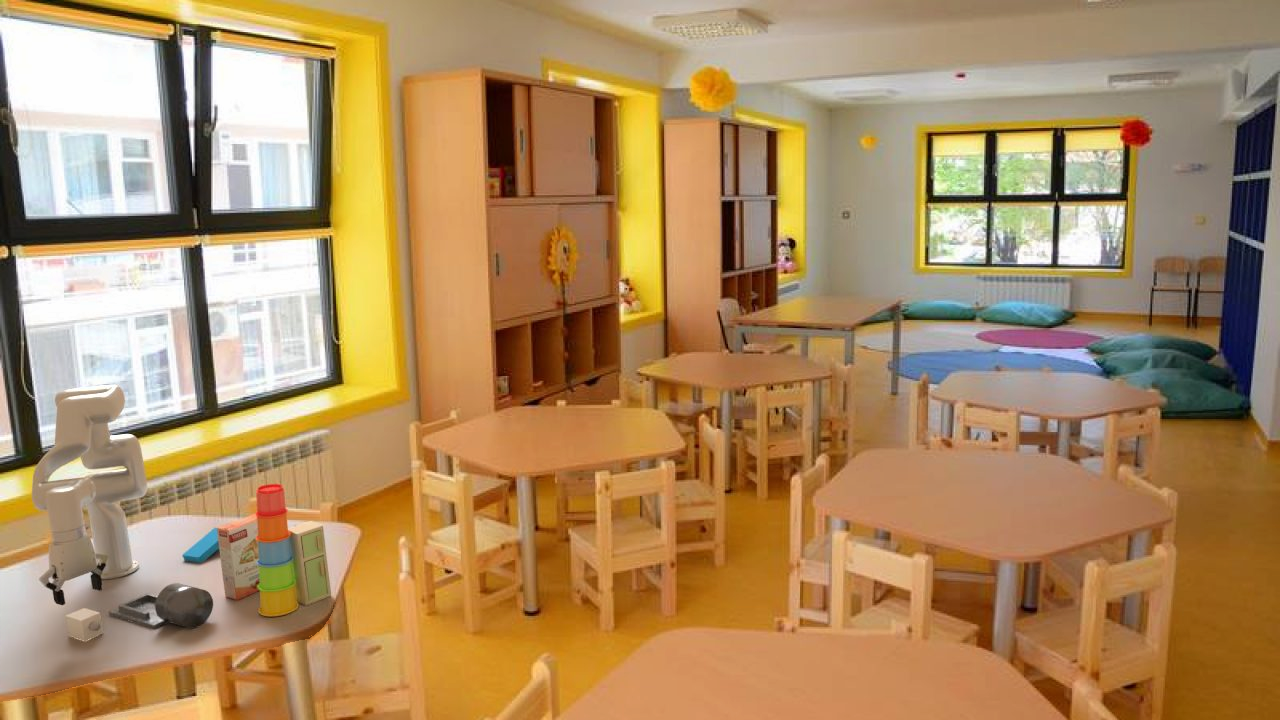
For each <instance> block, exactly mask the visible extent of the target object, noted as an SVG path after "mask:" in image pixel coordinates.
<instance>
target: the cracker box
mask: <svg viewBox="0 0 1280 720" xmlns="http://www.w3.org/2000/svg"><path fill="white" fill-rule="evenodd" d="M255 514H256V513H253V514H251V515H248V516H245V517H242V518H240V519H237V520H234V521H232V522H229V523H227V524H223V525H220V526H218V527H216V528H217V534H218V542H219V557H220V558H219V559H220V565H221V566H220V567H221V574H222V579H223V589H224V595H225V598H226V597H227V598H230V599H231V600H232V599H233V600H235V601H239V600H241V599H242V598H245V597H248V596H250V595H252V594H254V593H257V592H260V590H259V589H258V584H259V583H260V577H259V565H258V564H257V561H258V560H259V550H258V541H257V540H256V537H257V536H258V525H257V516H256V515H255Z"/></svg>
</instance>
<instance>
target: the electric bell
mask: <svg viewBox="0 0 1280 720" xmlns="http://www.w3.org/2000/svg"><path fill="white" fill-rule="evenodd" d="M213 608H214V600H213V597H212V595H211V593H210V592H209V591H208V590H207V589H203V588H199V587H194V586H190V585H187V584H183V583H179V582H174V583H170V584H168V585H166V586H165V587H164V588H163V589H162V590H161V591H160V592H159V594H158V595H157V594H155V593H154V594H153V593H151V592H148V593H146V594H142V595H141V596H139V597H136V598H134V599H131V600H129V601H126V602H125V603H122V604H120V605H118V607H116V608H113V609H112V610H111V609H110V610H109V611H108V615H109V616H112V617H114V618H118V619H121V620H124V619H125V621H127V620H129V621H128V622H131V621H132V622H131V623H134V622H135V624H137V623H138V625H142V626H145V627H148V628H150V629H154V630H155V629H157V628H159V627H162V626H163V625H166V624H168V623H172V624H175V625H178V626H182V627H186V628H189V629H194V628H198V627H200V626H202V625H203V624H204V623H205V622H207V620H208V619H209V618H210V616H211V614H212V612H213Z"/></svg>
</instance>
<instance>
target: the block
mask: <svg viewBox="0 0 1280 720" xmlns="http://www.w3.org/2000/svg"><path fill="white" fill-rule="evenodd" d="M65 620H66V626H67V631H68V637H69V636H73V637H75V638H78V639H81V640H84V641H86V640H88V639H90V638H93V637H95V636H97V635H99V636H101V635H100V634H102V633H104V628H103V621H102V617H101V612H98V611H96V610H92V609H89V608H85V607H83V608H81V609H79V610H76V611H74V612H71V613H69V614H66V615H65ZM102 635H103V634H102ZM97 637H98V636H97ZM75 638H74V639H75ZM95 638H96V637H95ZM78 639H77V640H78ZM93 639H94V638H93ZM81 640H80V641H81ZM90 640H91V639H90ZM84 641H83V642H84ZM88 641H89V640H88ZM86 642H87V641H86Z"/></svg>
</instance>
